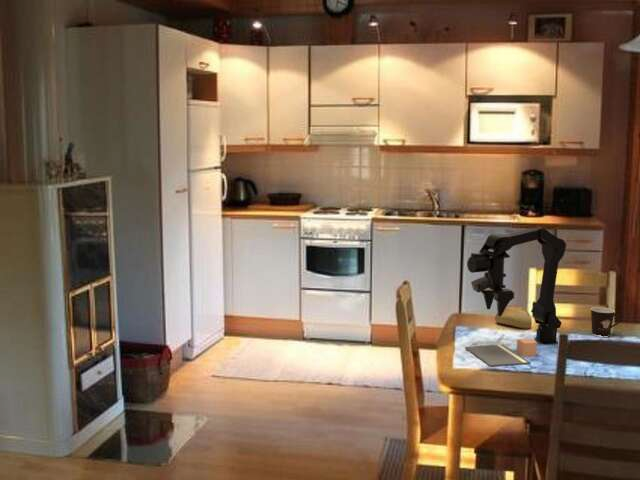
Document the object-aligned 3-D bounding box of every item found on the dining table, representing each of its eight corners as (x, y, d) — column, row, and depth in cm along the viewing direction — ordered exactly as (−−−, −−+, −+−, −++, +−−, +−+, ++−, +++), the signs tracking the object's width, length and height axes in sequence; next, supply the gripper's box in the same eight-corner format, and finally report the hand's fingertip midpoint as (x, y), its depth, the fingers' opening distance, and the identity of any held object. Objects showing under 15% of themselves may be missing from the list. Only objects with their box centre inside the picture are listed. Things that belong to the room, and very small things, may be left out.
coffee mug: (588, 336, 281) (590, 311, 279) (589, 330, 289) (591, 306, 287) (621, 340, 276) (623, 314, 275) (621, 334, 284) (623, 309, 283)
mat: (502, 345, 267) (502, 344, 267) (530, 363, 248) (530, 361, 248) (465, 348, 264) (465, 346, 264) (490, 366, 245) (490, 364, 244)
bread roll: (499, 320, 302) (500, 301, 301) (535, 326, 294) (536, 307, 293) (491, 325, 294) (492, 306, 293) (527, 331, 286) (528, 312, 285)
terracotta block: (529, 351, 262) (530, 338, 261) (536, 356, 257) (537, 342, 256) (516, 352, 260) (517, 339, 260) (523, 356, 256) (524, 343, 255)
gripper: (464, 266, 267) (462, 307, 270) (485, 277, 249) (484, 321, 252) (492, 264, 269) (490, 305, 272) (515, 275, 251) (513, 319, 254)
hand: (494, 312), depth 262 cm, fingers open, 9 cm apart
